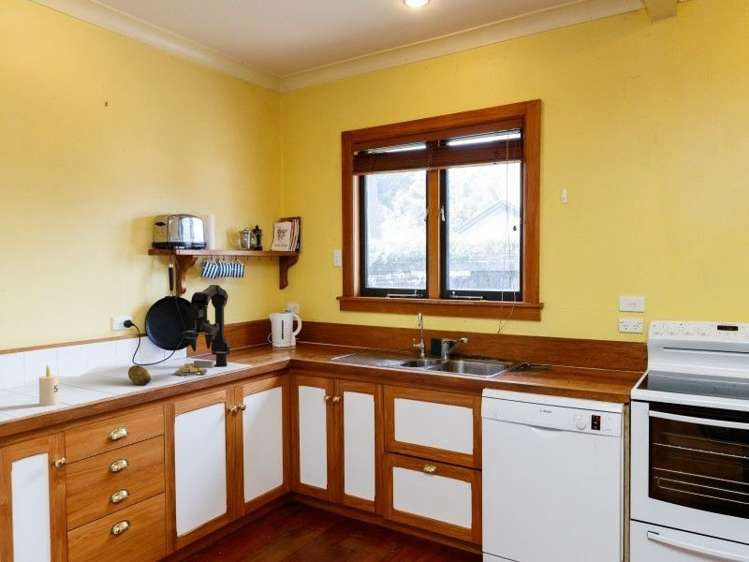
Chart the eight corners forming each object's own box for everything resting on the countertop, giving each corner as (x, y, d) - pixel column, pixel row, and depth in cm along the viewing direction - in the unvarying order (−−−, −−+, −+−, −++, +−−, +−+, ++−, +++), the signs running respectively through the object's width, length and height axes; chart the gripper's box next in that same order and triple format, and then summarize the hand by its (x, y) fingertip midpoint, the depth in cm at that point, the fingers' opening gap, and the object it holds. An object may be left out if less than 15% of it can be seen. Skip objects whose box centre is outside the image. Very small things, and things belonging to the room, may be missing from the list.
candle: (50, 406, 216) (50, 367, 215) (35, 405, 217) (35, 366, 217) (62, 402, 222) (62, 364, 222) (47, 401, 223) (47, 363, 223)
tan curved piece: (174, 371, 278) (174, 361, 278) (187, 367, 289) (187, 358, 289) (206, 373, 274) (206, 363, 274) (218, 369, 285) (218, 359, 285)
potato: (132, 387, 250) (132, 369, 249) (126, 382, 260) (126, 364, 260) (152, 385, 254) (151, 367, 254) (145, 380, 265) (145, 363, 265)
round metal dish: (178, 370, 289) (178, 365, 289) (208, 369, 291) (208, 364, 291) (172, 376, 274) (172, 370, 274) (204, 375, 276) (204, 369, 276)
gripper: (199, 321, 263) (200, 354, 264) (227, 317, 280) (227, 348, 281) (182, 319, 268) (182, 352, 269) (210, 315, 285) (210, 346, 286)
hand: (201, 350), depth 276 cm, fingers open, 9 cm apart
